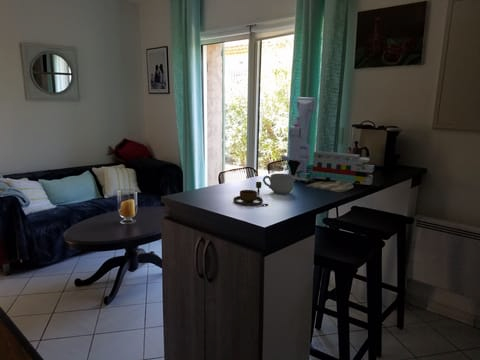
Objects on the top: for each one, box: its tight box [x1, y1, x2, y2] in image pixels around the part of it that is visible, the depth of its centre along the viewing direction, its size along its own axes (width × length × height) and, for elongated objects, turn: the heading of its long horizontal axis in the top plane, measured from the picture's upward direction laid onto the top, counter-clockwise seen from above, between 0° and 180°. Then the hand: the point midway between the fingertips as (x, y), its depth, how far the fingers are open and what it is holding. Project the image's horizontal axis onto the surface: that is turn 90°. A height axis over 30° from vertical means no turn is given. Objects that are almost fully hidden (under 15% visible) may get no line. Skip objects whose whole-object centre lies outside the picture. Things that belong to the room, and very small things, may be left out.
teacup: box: [262, 173, 295, 195], centre depth 159 cm, size 14×11×8 cm
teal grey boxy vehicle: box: [294, 171, 314, 185], centre depth 183 cm, size 7×7×5 cm
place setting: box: [233, 181, 269, 208], centre depth 145 cm, size 18×20×6 cm
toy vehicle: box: [311, 150, 375, 187], centre depth 185 cm, size 8×30×15 cm, turn 62°
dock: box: [305, 181, 355, 193], centre depth 175 cm, size 19×14×4 cm
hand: (293, 174), depth 187 cm, fingers closed
